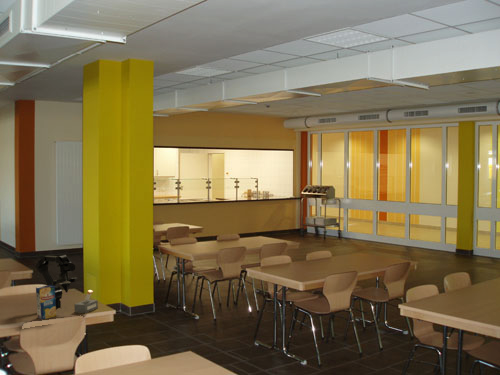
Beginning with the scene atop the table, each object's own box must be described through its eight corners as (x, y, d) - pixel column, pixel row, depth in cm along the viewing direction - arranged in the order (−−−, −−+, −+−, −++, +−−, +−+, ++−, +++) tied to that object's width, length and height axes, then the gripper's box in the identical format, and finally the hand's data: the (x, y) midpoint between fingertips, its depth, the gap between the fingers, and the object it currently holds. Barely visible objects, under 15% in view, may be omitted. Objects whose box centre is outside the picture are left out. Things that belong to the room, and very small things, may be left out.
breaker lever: (83, 300, 393) (87, 290, 391) (86, 299, 396) (90, 289, 395) (86, 301, 392) (90, 292, 390) (89, 300, 396) (93, 291, 394)
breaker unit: (74, 312, 390) (74, 303, 390) (87, 307, 403) (86, 299, 403) (85, 313, 386) (85, 304, 386) (97, 308, 399) (97, 300, 399)
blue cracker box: (37, 317, 379) (35, 287, 378) (52, 314, 386) (50, 284, 385) (41, 319, 374) (39, 289, 373) (56, 316, 381) (54, 286, 380)
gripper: (46, 275, 392) (49, 295, 392) (69, 272, 389) (72, 293, 389) (54, 272, 403) (57, 293, 403) (77, 269, 400) (80, 290, 400)
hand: (66, 292), depth 398 cm, fingers closed
